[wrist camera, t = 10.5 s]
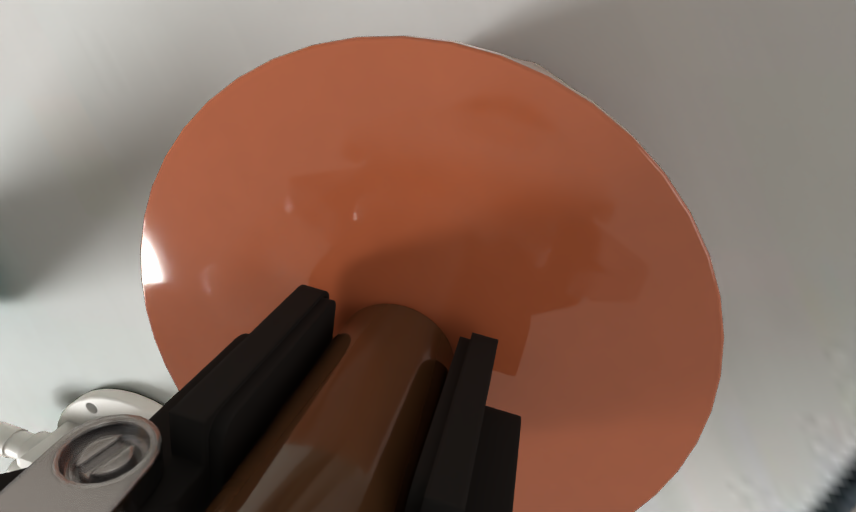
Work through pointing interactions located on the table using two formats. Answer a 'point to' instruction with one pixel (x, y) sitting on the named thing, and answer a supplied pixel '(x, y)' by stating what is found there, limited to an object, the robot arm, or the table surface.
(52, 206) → the table surface
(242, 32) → the table surface
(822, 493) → the table surface
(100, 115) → the table surface
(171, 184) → the lid
